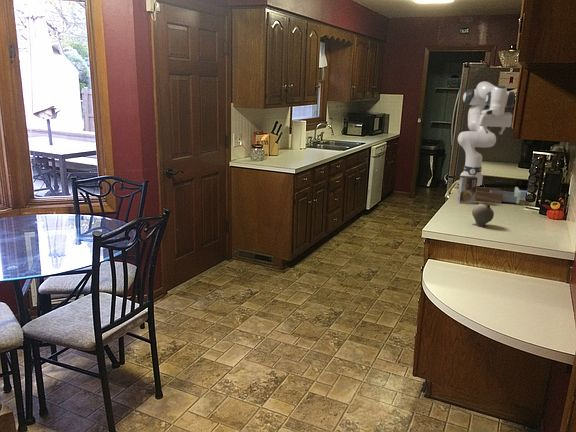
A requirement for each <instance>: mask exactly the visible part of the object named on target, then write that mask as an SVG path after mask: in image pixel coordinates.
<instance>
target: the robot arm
mask: <svg viewBox="0 0 576 432" xmlns="http://www.w3.org/2000/svg"><path fill="white" fill-rule="evenodd" d="M507 89H508V88H507V86H505V85H501V84H499V85H495V84H493V83H491V82H489V81H481V82H479V83H478V84H477V85H476V88H475V89H474V88H471V89H467V90H466V91H465V92H464V93H463V95H462V101H463V104H465V105H467V106H468V105H469V106H470V107H469V109H468V112H467V128H468V130H466V131H461V132H460V133H459V134H458V136H457V142H458V144H459V146H460V147H462V149H463V150H464V152H465V161H464V162H465V163H464V166H463V171H462V172H461V173H460V175H459V177H460V176H475V177H477V178H478V179H477V186H480V185H482V184H483V177H484V175H483V174H482V170H483V169H482V168H483V167H482V162H483V155H482V154H481V152H478V151H477V150H476V148H492V147H493V146H495V144H496V142H497V137H496V134H495V133H493V132H492V131H490V130H489V129H488V127H492V128H495V127H496V128H498V127H499V128H501V130H499V131H498V134H499V135H503V132H504V131H505V130H506V128H510V127H512V119H513V114H512V112H507V111H505V110H506V109H505V108H512V107H513V106H514V105H515V104H514V101H515V94H516V93H515V92H514V90H513V91H508V90H507Z"/></svg>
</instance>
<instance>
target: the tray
mask: <svg viewBox="0 0 576 432" xmlns="http://www.w3.org/2000/svg"><path fill="white" fill-rule="evenodd" d="M520 190H521V189H520V188H519V187H518V186H515V187H514V191H505V190H501V191H496V190H490V193H500V194H503V197H502V202H505V203H513V204H519V203H520V200H521V199H520V195H521V192H520Z"/></svg>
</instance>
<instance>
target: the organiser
mask: <svg viewBox="0 0 576 432" xmlns="http://www.w3.org/2000/svg"><path fill="white" fill-rule="evenodd" d="M490 190H496V191H502V189H501V188H498V187H497V188H495V187H486V186H484V187H477V186H476V194H475V202H483V203H492V204H493V203H494V204H500V203H501V204H502V202H503V201H502V197H503V194H500V193H490Z"/></svg>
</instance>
